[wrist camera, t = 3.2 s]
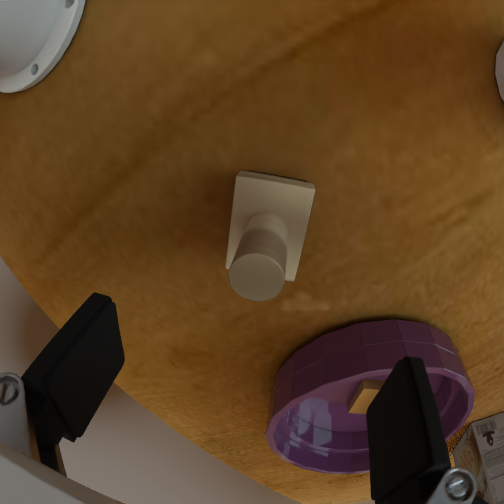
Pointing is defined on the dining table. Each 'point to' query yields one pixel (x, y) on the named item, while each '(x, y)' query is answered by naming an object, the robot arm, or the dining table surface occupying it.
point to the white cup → (500, 70)
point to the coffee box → (484, 456)
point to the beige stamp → (266, 232)
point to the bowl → (344, 385)
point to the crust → (364, 395)
